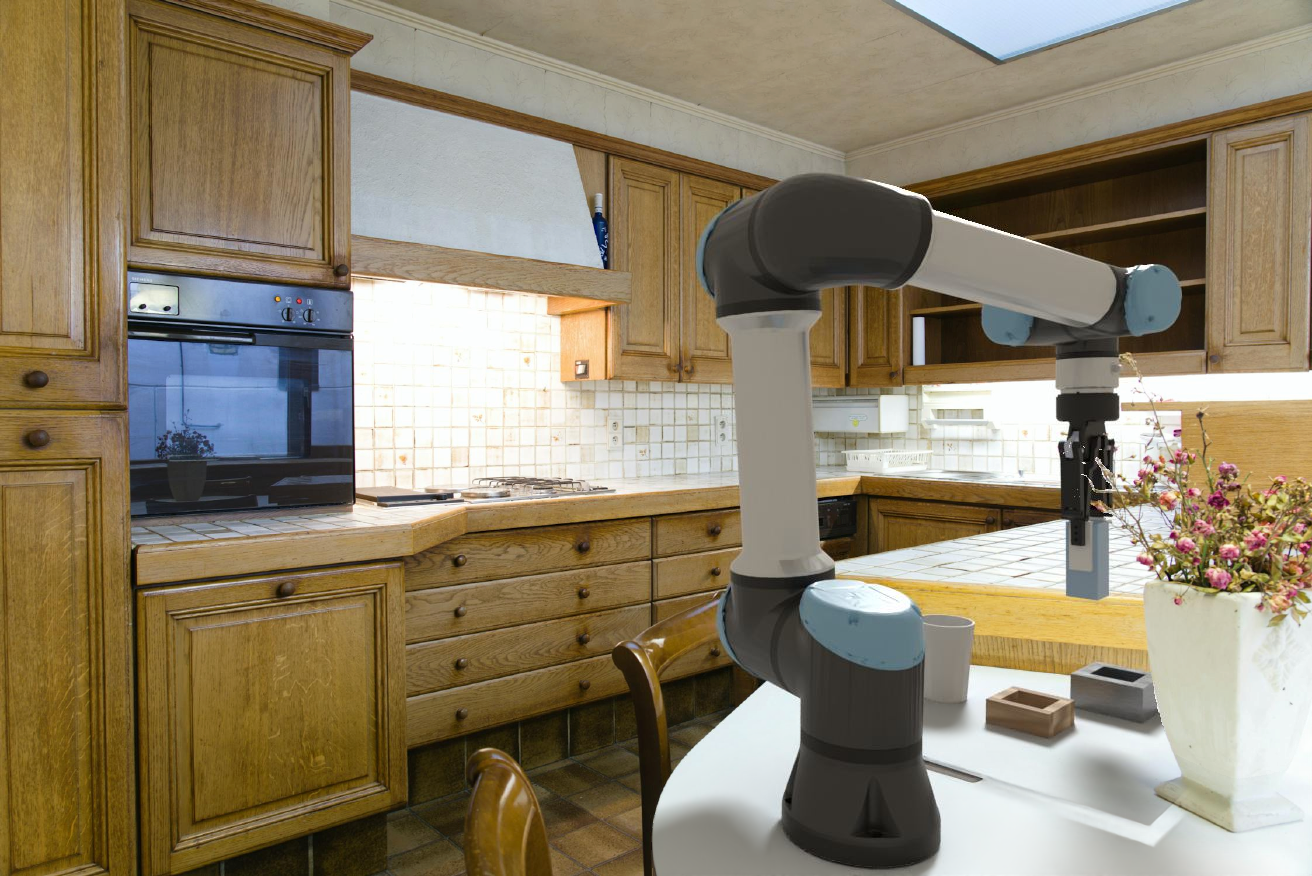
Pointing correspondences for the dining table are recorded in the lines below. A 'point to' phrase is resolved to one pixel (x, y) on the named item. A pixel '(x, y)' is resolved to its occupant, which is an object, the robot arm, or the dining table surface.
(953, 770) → the smartphone
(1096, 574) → the plug
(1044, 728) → the tan square frame
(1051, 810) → the dining table surface
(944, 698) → the cup
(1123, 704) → the port
